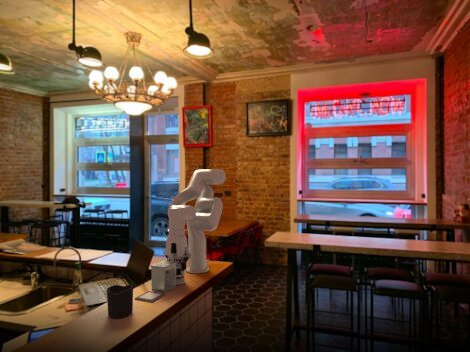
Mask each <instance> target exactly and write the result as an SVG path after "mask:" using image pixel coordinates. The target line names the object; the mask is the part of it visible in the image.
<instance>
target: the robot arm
mask: <svg viewBox="0 0 470 352" xmlns="http://www.w3.org/2000/svg"><path fill="white" fill-rule="evenodd" d="M226 177H227V176H226V172H225V170H224V169H213V168H212V169H209V168H208V169H196V170H194V172H193V173H192V175H191V177H190V179H189V182H188V183H187V186H186V188H185V189H183V190H182V191H180V192H179V193H178V194H176V195H175V196H174V197H173V199H172V200H171V202H170V204H169V206H168V208H167V216H168V229H167V230H166V231H167V233H168V235H167V237H166V244H165V250H164V251H163V252H162V254H163V255H164V256H165V258H166V261H170V256H171V243H176V248H177V257H181V260H182V263H181V271H184V272H187V274H188V273H189V274H203V273H206V272H209V271H210V268H209V266H207V264H210V260H209V259H207V238H206V235H205V232H204V231H207V232H213V231H215V230H216V229H217V228H218V225H219V223H220V220H221V215H222V213H223V209H224V208H223V201H222V199H221V198H218V197H214V195H215V191H214V190H213V188H212V187H211V186H213V185H216V186H217V185H222V184H224V183H225V181H226V179H227V178H226ZM210 185H211V186H210ZM193 200H196V201H195V203H194V206H193V205H188V204H187V205H185V204H186V203H188V202H190V201H193ZM185 223H186V224H185ZM186 226H187V227H186ZM185 227H186V229H187V232H188V233H187V234H188V235H186V229H185ZM187 236H188V238H187ZM187 262H188V266H187Z"/></svg>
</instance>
